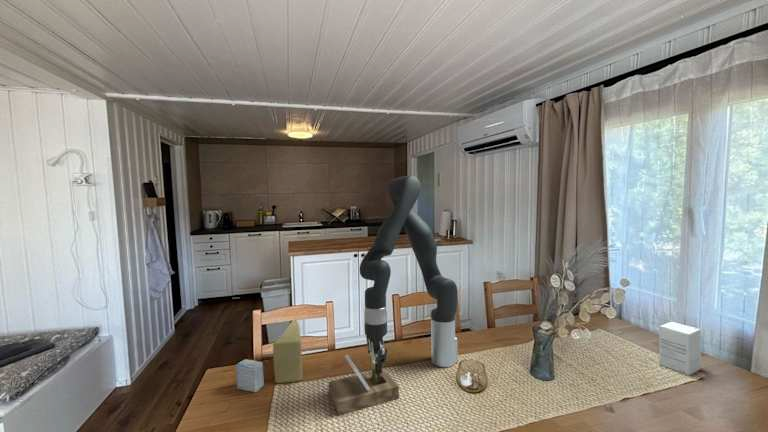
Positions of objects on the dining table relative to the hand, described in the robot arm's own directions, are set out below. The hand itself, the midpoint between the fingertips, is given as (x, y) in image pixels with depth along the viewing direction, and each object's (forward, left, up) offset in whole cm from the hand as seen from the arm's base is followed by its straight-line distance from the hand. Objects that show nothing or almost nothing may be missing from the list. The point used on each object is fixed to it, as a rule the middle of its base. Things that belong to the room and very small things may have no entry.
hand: (376, 370), depth 105 cm
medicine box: (+39, -21, -8) cm, 45 cm away
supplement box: (-107, +32, -8) cm, 112 cm away
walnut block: (+5, 0, -7) cm, 9 cm away
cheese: (+24, -29, -8) cm, 38 cm away
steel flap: (+7, 0, +1) cm, 7 cm away
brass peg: (0, 0, -2) cm, 2 cm away
